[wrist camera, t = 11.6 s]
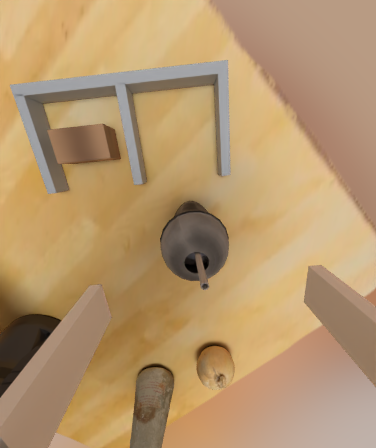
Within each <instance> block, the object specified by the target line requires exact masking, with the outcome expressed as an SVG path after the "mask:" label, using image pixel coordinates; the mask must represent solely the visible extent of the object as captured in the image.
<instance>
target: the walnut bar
mask: <svg viewBox="0 0 376 448" xmlns="http://www.w3.org/2000/svg"><path fill="white" fill-rule="evenodd" d="M47 131H48V134H49V137H50V140H51V144H52V147H53V150H54V153H55V156H56V159H57V162H58V164H78V163H87V162H97V161H106V160H116V159H121V158H120V153H119V148H118V144H117V139H116V134H115V129H113V128H110V127H108V126H106V125H104V124H97V125H88V126H78V127H69V128H60V129H51V130H47Z"/></svg>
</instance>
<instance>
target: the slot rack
mask: <svg viewBox="0 0 376 448" xmlns="http://www.w3.org/2000/svg"><path fill="white" fill-rule="evenodd" d="M213 84H214V93H215V116H216V139H217V162H218V175H221V176H225V175H230V135H229V90H228V60H224V61H215V62H206V63H198V64H189V65H180V66H171V67H163V68H154V69H145V70H136V71H127V72H119V73H110V74H101V75H92V76H84V77H75V78H66V79H57V80H49V81H40V82H31V83H22V84H14V85H10V87H11V90H12V93H13V95H14V98H15V101H16V104H17V107H18V110H19V112H20V115H21V118H22V121H23V124H24V127H25V130H26V132H27V135H28V138H29V141H30V144H31V147H32V149H33V152H34V155H35V158H36V161H37V164H38V167H39V169H40V172H41V175H42V178H43V181H44V184H45V186H46V189H47V192H48V194H51V193H58V192H63V191H67V190H69V187H68V184H67V181H66V178H65V174H64V171H63V168H62V165H61V164H58V162H57V159H56V156H55V153H54V150H53V147H52V144H51V140H50V137H49V134H48V131H47V130H51V129H50V126H49V123H48V120H47V117H46V113H45V110H44V107H43V104H44V103H53V102H62V101H70V100H79V99H88V98H97V97H106V96H115V95H117V98H118V103H119V109H120V114H121V119H122V124H123V129H124V134H125V140H126V145H127V150H128V155H129V160H130V166H131V171H132V176H133V181H134V185H138V184H144V183H146V182H147V179H146V173H145V167H144V162H143V156H142V150H141V144H140V138H139V132H138V126H137V120H136V114H135V108H134V103H133V97H132V94H133V93H142V92H151V91H160V90H169V89H178V88H187V87H195V86H204V85H213Z"/></svg>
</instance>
